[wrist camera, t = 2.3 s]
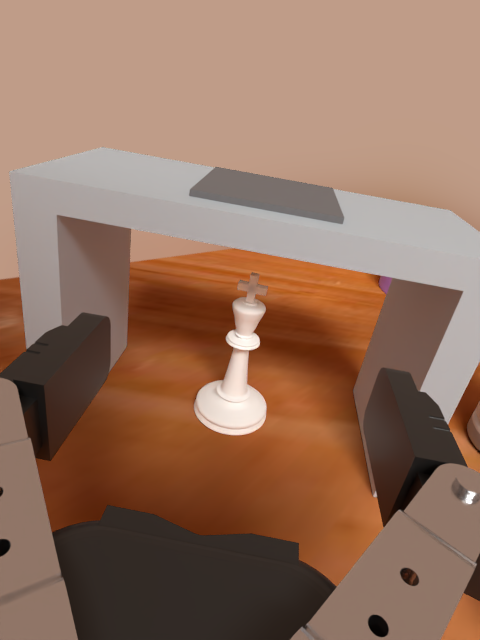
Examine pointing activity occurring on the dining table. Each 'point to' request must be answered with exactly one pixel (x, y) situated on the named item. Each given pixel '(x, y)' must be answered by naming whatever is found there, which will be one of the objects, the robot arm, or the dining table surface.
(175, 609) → the robot arm
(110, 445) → the dining table surface
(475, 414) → the travel mug
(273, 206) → the pad
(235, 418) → the chess piece
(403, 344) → the bridge
